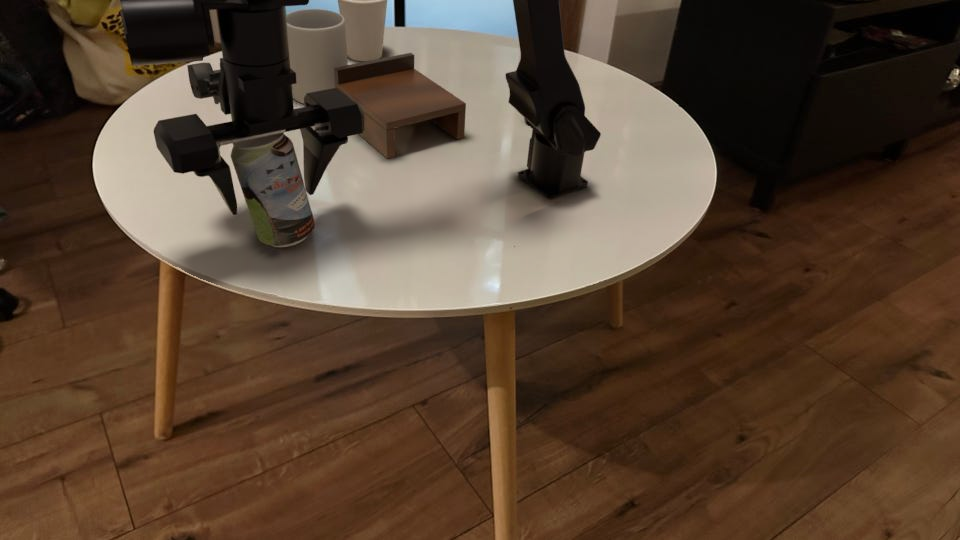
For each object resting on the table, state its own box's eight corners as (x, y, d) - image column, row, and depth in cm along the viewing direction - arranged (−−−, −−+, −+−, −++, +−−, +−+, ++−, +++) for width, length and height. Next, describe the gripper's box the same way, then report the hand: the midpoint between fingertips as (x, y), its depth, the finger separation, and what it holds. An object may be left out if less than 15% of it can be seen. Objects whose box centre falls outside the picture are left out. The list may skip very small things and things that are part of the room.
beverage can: (302, 259, 71) (288, 156, 64) (236, 248, 72) (213, 145, 65) (325, 225, 76) (314, 125, 69) (262, 215, 77) (245, 116, 70)
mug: (358, 86, 105) (354, 13, 98) (336, 110, 99) (330, 33, 92) (285, 74, 107) (276, 1, 100) (258, 96, 100) (247, 20, 94)
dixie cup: (372, 42, 120) (370, -19, 114) (399, 58, 115) (399, -4, 109) (329, 51, 115) (325, -11, 109) (356, 68, 110) (353, 4, 104)
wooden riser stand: (464, 137, 94) (466, 88, 90) (387, 159, 89) (386, 108, 84) (410, 98, 103) (410, 52, 99) (337, 115, 97) (333, 67, 93)
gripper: (314, 14, 72) (321, 149, 81) (120, 38, 62) (155, 188, 72) (366, 51, 65) (368, 194, 74) (157, 84, 55) (190, 243, 65)
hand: (272, 202), depth 71 cm, fingers closed on beverage can, 8 cm apart
